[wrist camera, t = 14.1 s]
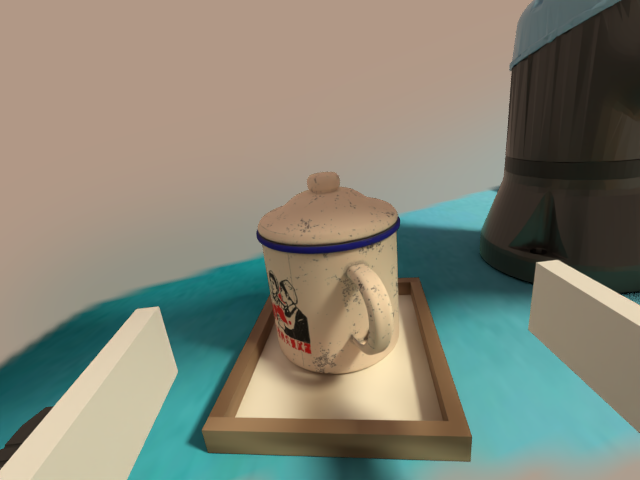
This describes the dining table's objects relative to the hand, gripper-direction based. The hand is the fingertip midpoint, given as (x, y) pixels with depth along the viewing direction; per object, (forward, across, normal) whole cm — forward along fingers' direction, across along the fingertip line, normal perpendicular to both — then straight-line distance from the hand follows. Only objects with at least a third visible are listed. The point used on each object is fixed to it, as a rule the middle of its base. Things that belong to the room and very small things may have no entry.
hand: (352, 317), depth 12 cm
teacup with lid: (+9, 0, -8) cm, 13 cm away
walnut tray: (+9, 0, -9) cm, 13 cm away
